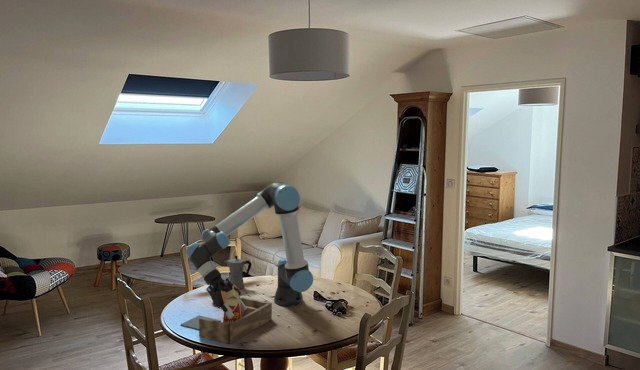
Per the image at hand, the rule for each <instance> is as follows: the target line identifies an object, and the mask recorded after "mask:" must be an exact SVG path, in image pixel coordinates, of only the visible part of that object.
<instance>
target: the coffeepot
mask: <svg viewBox="0 0 640 370" xmlns="http://www.w3.org/2000/svg"><path fill="white" fill-rule="evenodd" d="M238 257H239V256H238V255H234V258H232V259H226V260H224V262H225V263H226V264H227V267H228V268H229V273H230V274H229V278H228V279H229V281H230V282H231V283H232V284H233V285H235V286H236V287H237V289H238V290H239V289H242V288H244V287H245V284H244V283H245V282H244V277H243V272H244V266H245V264H246V265H247V269H246V272H244V275H246V276H247V275H249V274H250V271H251V268H252V262H251V261H250V260H245V259H242V258H238Z"/></svg>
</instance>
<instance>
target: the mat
mask: <svg viewBox="0 0 640 370" xmlns="http://www.w3.org/2000/svg"><path fill="white" fill-rule="evenodd" d="M201 317H202V318H206V319H210V320H214V321H219V322H222V320H220V319H217V318H212V317H209V316H203V315H200V314H199V315H197V316H195V317H193V318H191V319H189V320H187V321H185V322H183V323H180V326H181V327H186V328H189V329H192V330H197V331H199V318H201Z"/></svg>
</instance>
